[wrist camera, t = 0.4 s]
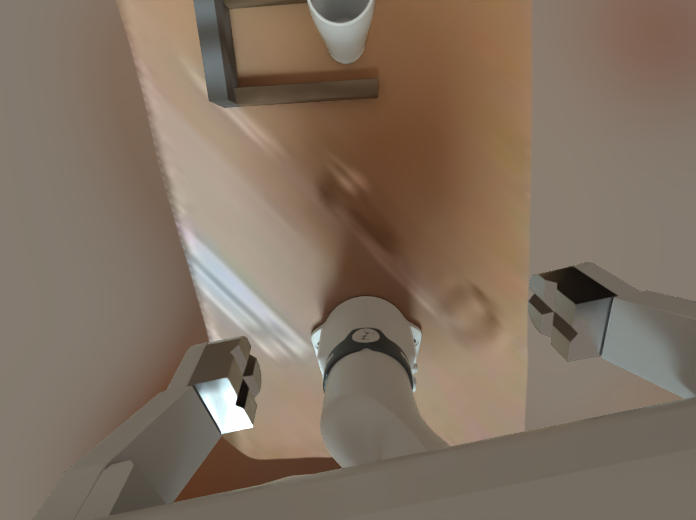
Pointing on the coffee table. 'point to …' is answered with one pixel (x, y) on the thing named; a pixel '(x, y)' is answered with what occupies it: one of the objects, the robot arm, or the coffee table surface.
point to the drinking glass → (343, 26)
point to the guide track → (225, 90)
